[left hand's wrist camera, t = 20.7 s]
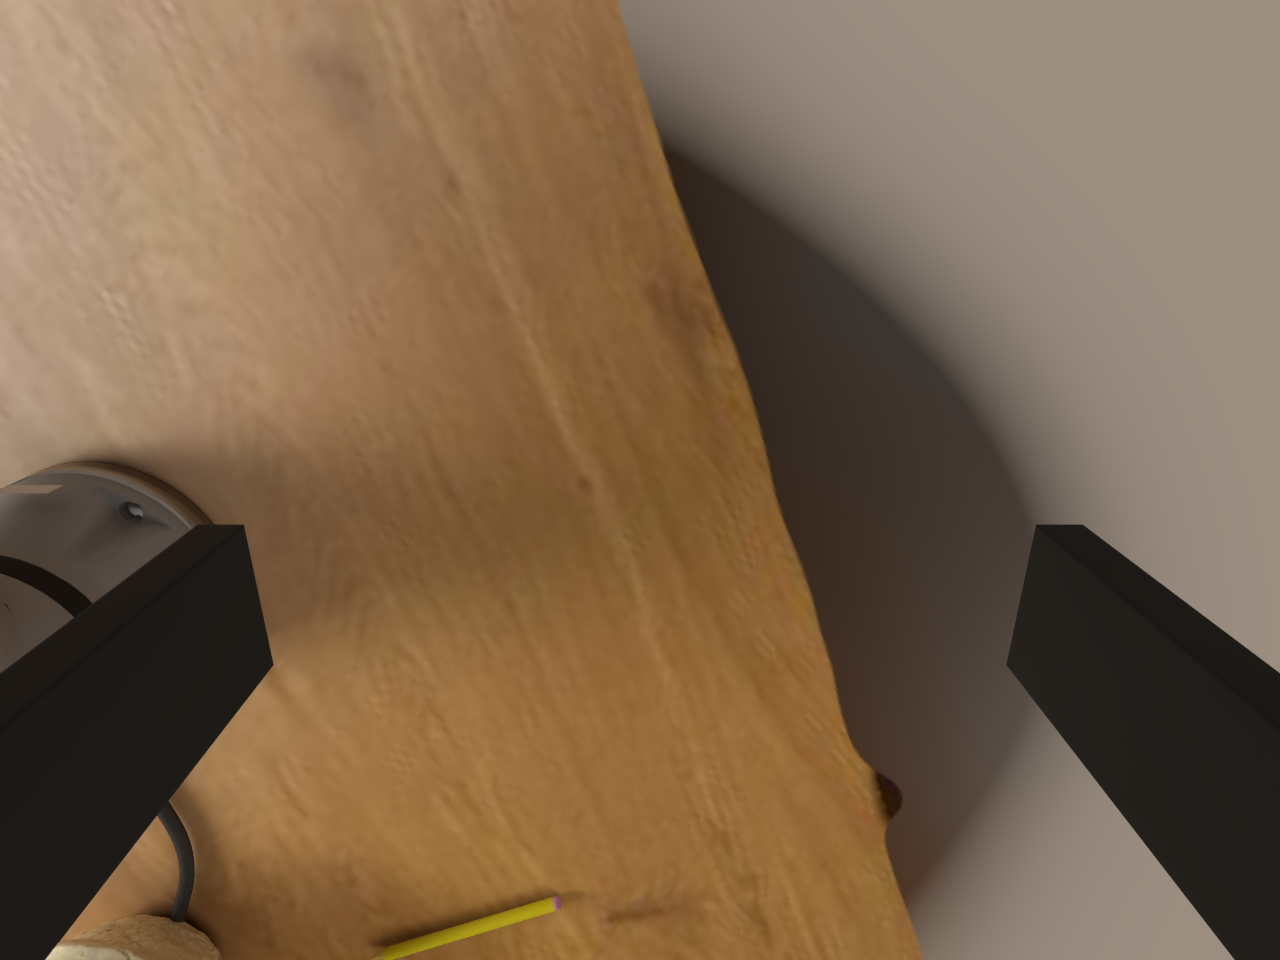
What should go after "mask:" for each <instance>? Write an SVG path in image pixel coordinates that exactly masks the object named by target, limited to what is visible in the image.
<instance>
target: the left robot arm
mask: <svg viewBox="0 0 1280 960" xmlns="http://www.w3.org/2000/svg"><path fill="white" fill-rule="evenodd" d="M272 666H273V660H272V656H271V651H270V646H269V642H268V637H267V632H266V627H265V623H264V618H263V613H262V609H261V604H260V599H259V594H258V590H257V585H256V580H255V576H254V571H253V566H252V561H251V557H250V552H249V547H248V543H247V538H246V533H245V528H244V525H213V524H212V523H211V522H210V521H209V520H208V519H207V518H206V516H205V515H204V514H203V513H202V512H201V511H200V510H199V509H198V508H197V507H196V506H194V505H193V504H192V503H191V502H190V501H189V500H187V499H186V498H185V497H184V496H182V495H181V494H179V493H178V492H177V491H175V490H174V489H172V488H170V487H169V486H167V485H165V484H164V483H162V482H160V481H158V480H156V479H154V478H152V477H150V476H147V475H145V474H143V473H140V472H137V471H134V470H131V469H128V468H125V467H121V466H116V465H112V464H105V463H95V462H74V463H66V464H61V465H56V466H52V467H49V468H46V469H43V470H41V471H39V472H37V473H34V474H32V475H30V476H28V477H26V478H24V479H21V480H19V481H17V482H15V483H13V484H11V485H8V486H6V487H4V488H2V489H0V960H45V959H46V958H47V957H48V956H49V954H50V953H51V952H52V950H53V949H54V948H55V946H56V945H57V944H58V943H59V941H60V940H61V939H62V937H63V936H64V935H65V934H66V932H67V931H68V930H69V928H70V927H71V926H72V925H73V923H74V922H75V921H76V919H77V918H78V917H79V915H80V914H81V913H82V912H83V910H84V909H85V908H86V906H87V905H88V904H89V903H90V901H91V900H92V899H93V897H94V896H95V895H96V894H97V892H98V891H99V890H100V888H101V887H102V886H103V884H104V883H105V882H106V881H107V879H108V878H109V877H110V875H111V874H112V873H113V872H114V870H115V869H116V868H117V866H118V865H119V864H120V863H121V861H122V860H123V859H124V857H125V856H126V855H127V853H128V852H129V851H130V850H131V848H132V847H133V846H134V844H135V843H136V842H137V841H138V839H139V838H140V837H141V835H142V834H143V833H144V831H145V830H146V829H147V828H148V826H149V825H150V824H151V822H152V821H153V820H154V819H155V817H156V816H158V818H159V819H160V821H161V822H162V824H163V825H164V827H165V829H166V830H167V832H168V834H169V836H170V838H171V840H172V842H173V844H174V847H175V850H176V853H177V857H178V861H179V869H180V879H179V887H178V891H177V895H176V899H175V903H174V906H173V910H172V914H171V918H170V919H171V921H173V922H183V921H184V919H185V915H186V911H187V908H188V904H189V901H190V897H191V894H192V889H193V884H194V857H193V851H192V847H191V843H190V840H189V837H188V835H187V832H186V830H185V828H184V826H183V824H182V822H181V820H180V819H179V817H178V815H177V814H176V812H175V811H174V809H173V808H172V806H171V804H170V803H169V801H168V800H169V799H170V798H171V797H172V795H173V794H174V793H175V791H176V790H177V789H178V788H179V786H180V785H181V784H182V782H183V781H184V780H185V779H186V777H187V776H188V775H189V773H190V772H191V771H192V769H193V768H194V767H195V766H196V764H197V763H198V762H199V760H200V759H201V758H202V757H203V755H204V754H205V753H206V751H207V750H208V749H209V748H210V746H211V745H212V744H213V742H214V741H215V740H216V738H217V737H218V736H219V735H220V733H221V732H222V731H223V729H224V728H225V727H226V726H227V724H228V723H229V722H230V720H231V719H232V718H233V716H234V715H235V714H236V713H237V711H238V710H239V709H240V707H241V706H242V705H243V704H244V702H245V701H246V700H247V698H248V697H249V696H250V695H251V693H252V692H253V691H254V689H255V688H256V687H257V685H258V684H259V683H260V682H261V680H262V679H263V678H264V676H265V675H266V674H267V673H268V671H269V670H270V669H271V667H272ZM1007 666H1008V667H1009V669H1010V670H1011V671H1012V673H1013V674H1014V675H1015V676H1016V678H1017V679H1018V680H1019V682H1020V683H1021V684H1022V685H1023V687H1024V688H1025V689H1026V691H1027V692H1028V693H1029V695H1030V696H1031V697H1032V698H1033V700H1034V701H1035V702H1036V704H1037V705H1038V706H1039V707H1040V709H1041V710H1042V711H1043V713H1044V714H1045V715H1046V716H1047V718H1048V719H1049V720H1050V722H1051V723H1052V724H1053V726H1054V727H1055V728H1056V729H1057V731H1058V732H1059V733H1060V734H1061V736H1062V737H1063V738H1064V740H1065V741H1066V742H1067V744H1068V745H1069V746H1070V748H1071V749H1072V750H1073V751H1074V753H1075V754H1076V755H1077V757H1078V758H1079V759H1080V760H1081V762H1082V763H1083V764H1084V765H1085V767H1086V768H1087V769H1088V771H1089V772H1090V773H1091V775H1092V776H1093V777H1094V778H1095V780H1096V781H1097V782H1098V784H1099V785H1100V786H1101V787H1102V789H1103V790H1104V791H1105V793H1106V794H1107V795H1108V797H1109V798H1110V799H1111V800H1112V802H1113V803H1114V804H1115V806H1116V807H1117V808H1118V809H1119V811H1120V812H1121V813H1122V815H1123V816H1124V817H1125V819H1126V820H1127V821H1128V822H1129V824H1130V825H1131V826H1132V828H1133V829H1134V830H1135V831H1136V833H1137V834H1138V835H1139V837H1140V838H1141V839H1142V840H1143V842H1144V843H1145V844H1146V846H1147V847H1148V848H1149V850H1150V851H1151V852H1152V853H1153V855H1154V856H1155V857H1156V859H1157V860H1158V861H1159V863H1160V864H1161V865H1162V866H1163V868H1164V869H1165V870H1166V871H1167V873H1168V874H1169V875H1170V877H1171V878H1172V879H1173V881H1174V882H1175V883H1176V884H1177V886H1178V887H1179V888H1180V890H1181V891H1182V892H1183V894H1184V895H1185V896H1186V897H1187V899H1188V900H1189V901H1190V903H1191V904H1192V905H1193V906H1194V908H1195V909H1196V910H1197V912H1198V913H1199V914H1200V915H1201V917H1202V918H1203V919H1204V921H1205V922H1206V923H1207V925H1208V926H1209V927H1210V928H1211V930H1212V931H1213V932H1214V934H1215V935H1216V936H1217V937H1218V939H1219V940H1220V941H1221V943H1222V944H1223V945H1224V946H1225V948H1226V949H1227V950H1228V952H1229V953H1230V954H1231V955H1232V957H1233V958H1234V959H1235V960H1280V673H1279V672H1277V671H1276V670H1275V669H1273V668H1272V667H1271V666H1269V665H1268V664H1267V663H1265V662H1264V661H1263V660H1261V659H1260V658H1259V657H1257V656H1256V655H1255V654H1253V653H1252V652H1251V651H1249V650H1248V649H1247V648H1246V647H1244V646H1243V645H1241V644H1240V643H1239V642H1238V641H1236V640H1235V639H1234V638H1232V637H1231V636H1230V635H1228V634H1227V633H1226V632H1224V631H1223V630H1222V629H1220V628H1219V627H1218V626H1216V625H1215V624H1214V623H1212V622H1211V621H1210V620H1208V619H1207V618H1206V617H1204V616H1203V615H1202V614H1200V613H1199V612H1198V611H1196V610H1195V609H1194V608H1192V607H1191V606H1190V605H1188V604H1187V603H1186V602H1184V601H1183V600H1182V599H1180V598H1179V597H1178V596H1177V595H1175V594H1174V593H1173V592H1171V591H1170V590H1169V589H1167V588H1166V587H1165V586H1163V585H1162V584H1161V583H1159V582H1158V581H1157V580H1155V579H1154V578H1153V577H1151V576H1150V575H1148V574H1147V573H1146V572H1145V571H1143V570H1142V569H1141V568H1139V567H1138V566H1137V565H1135V564H1134V563H1133V562H1131V561H1130V560H1129V559H1127V558H1126V557H1125V556H1123V555H1122V554H1121V553H1119V552H1118V551H1117V550H1115V549H1114V548H1113V547H1111V546H1110V545H1109V544H1108V543H1106V542H1105V541H1103V540H1102V539H1101V538H1100V537H1098V536H1097V535H1096V534H1094V533H1093V532H1092V531H1090V530H1089V529H1088V528H1086V527H1085V526H1084V525H1036V528H1035V533H1034V538H1033V543H1032V547H1031V552H1030V557H1029V562H1028V566H1027V571H1026V576H1025V580H1024V585H1023V590H1022V594H1021V599H1020V604H1019V609H1018V613H1017V618H1016V623H1015V627H1014V632H1013V637H1012V641H1011V646H1010V651H1009V656H1008V660H1007Z"/></svg>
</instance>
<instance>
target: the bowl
mask: <svg viewBox="0 0 1280 960" xmlns="http://www.w3.org/2000/svg"><path fill="white" fill-rule="evenodd" d="M220 956H221V955H220V952H219V950H218V949H217V948H216V947H215V946H214V945H213V943H211V941H210V940H209V938H208V937H207V936H206V935H205V933H203V932H201V931H199V930H197V929H195V928H194V927H192V926H191V925H189V924H187V923H186V922H184V921H183V922H173V921H171V919H170V918H166V917H157V916H155V917H154V916H151V915H149V914H142V915H135V916H128V917H124V918H120V919H117V920H112V921H109V922H106V923H104V924H102V925H99V926H97V927H95V928H92V929H90V930H87V931H85V932H83V933H81V934H79V935H77V936H76V937H74V938H72V939H70V940H68V941H63V942H59V943H58V944H57V945H56V946H55V948H54V949H53V950H52V952H51V953H50V954H49V956H48V957H47V958H46V959H45V960H222V959H221V957H220Z"/></svg>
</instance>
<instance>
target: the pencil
mask: <svg viewBox="0 0 1280 960" xmlns="http://www.w3.org/2000/svg"><path fill="white" fill-rule="evenodd" d="M560 908H561V902H560V898H559V897H558V896H553V897H550V898H546V899H543V900H540V901H537V902H533V903H530V904H527V905H523V906H520V907H517V908H513V909H510V910H507V911H504V912H500V913H497V914H494V915H490V916H487V917H484V918H481V919H477V920H474V921H471V922H467V923H464V924H461V925H457V926H454V927H451V928H448V929H444V930H441V931H438V932H434V933H431V934H428V935H425V936H421V937H418V938H415V939H411V940H408V941H405V942H401V943H398V944H395V945H392V946H388V947H385V948H384V949H383V950H381V951H380V952H379V953H377V954H376V955H375V956H374V957H372V958H371V960H393V959H397V958H400V957H403V956H407V955H410V954H413V953H417V952H420V951H423V950H427V949H430V948H433V947H437V946H440V945H443V944H447V943H450V942H453V941H457V940H460V939H463V938H467V937H470V936H473V935H477V934H480V933H483V932H487V931H490V930H493V929H497V928H500V927H503V926H507V925H510V924H513V923H517V922H520V921H523V920H527V919H530V918H533V917H537V916H540V915H543V914H547V913H550V912H553V911H557V910H560Z"/></svg>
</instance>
